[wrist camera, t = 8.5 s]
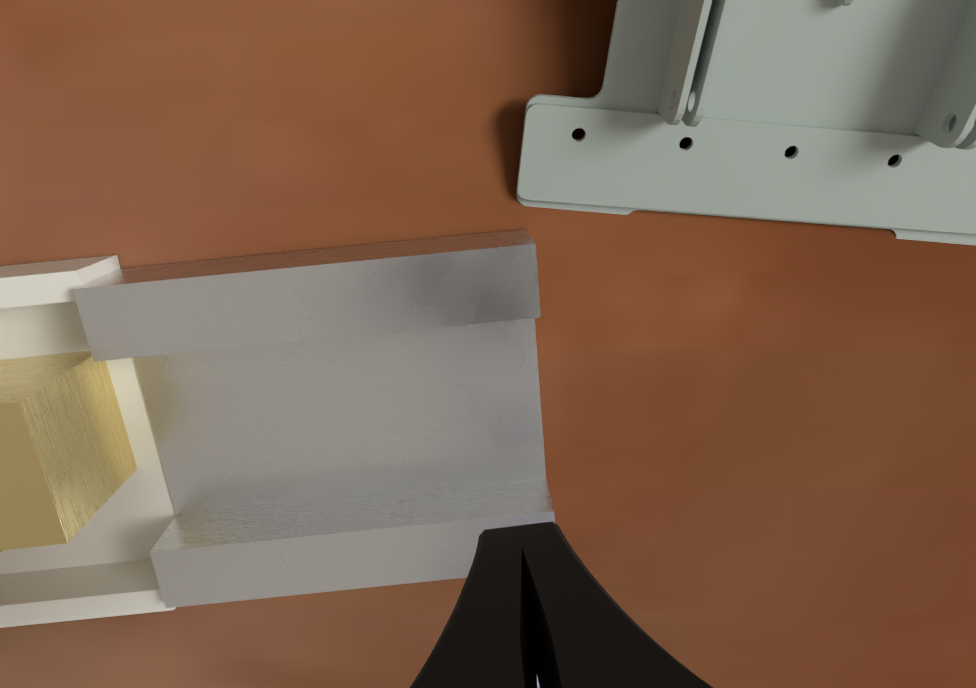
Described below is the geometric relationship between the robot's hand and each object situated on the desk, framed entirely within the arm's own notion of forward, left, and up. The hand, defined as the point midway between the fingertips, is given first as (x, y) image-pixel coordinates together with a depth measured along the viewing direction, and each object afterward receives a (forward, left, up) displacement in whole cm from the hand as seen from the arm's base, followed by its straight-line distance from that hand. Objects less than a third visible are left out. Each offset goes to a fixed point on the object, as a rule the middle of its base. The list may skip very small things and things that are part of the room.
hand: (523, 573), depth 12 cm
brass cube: (0, +14, -9) cm, 17 cm away
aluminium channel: (0, +5, -10) cm, 11 cm away
